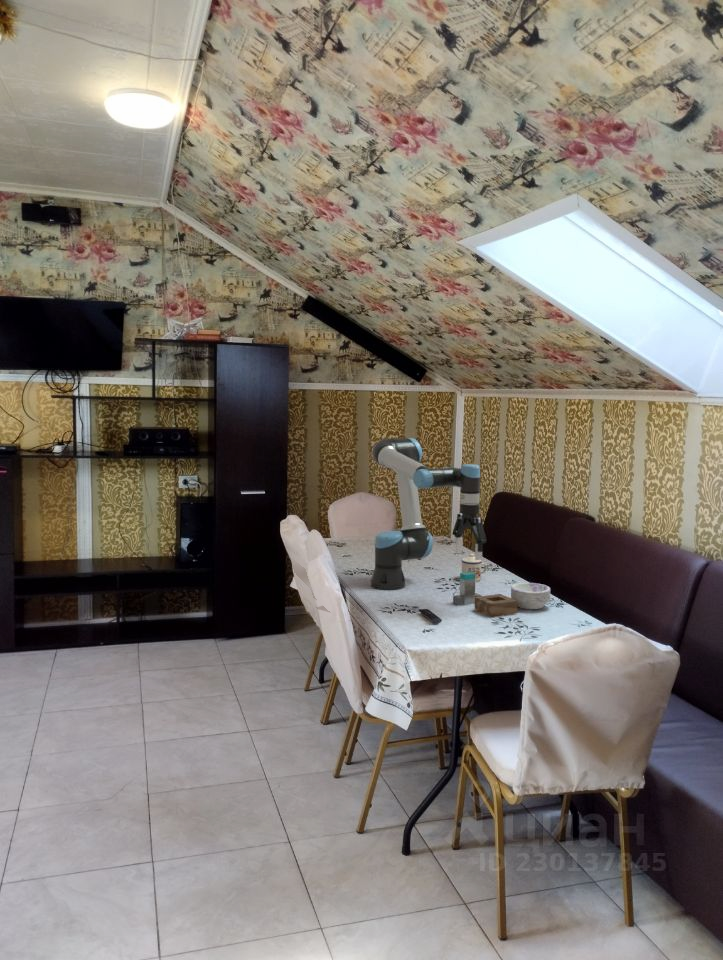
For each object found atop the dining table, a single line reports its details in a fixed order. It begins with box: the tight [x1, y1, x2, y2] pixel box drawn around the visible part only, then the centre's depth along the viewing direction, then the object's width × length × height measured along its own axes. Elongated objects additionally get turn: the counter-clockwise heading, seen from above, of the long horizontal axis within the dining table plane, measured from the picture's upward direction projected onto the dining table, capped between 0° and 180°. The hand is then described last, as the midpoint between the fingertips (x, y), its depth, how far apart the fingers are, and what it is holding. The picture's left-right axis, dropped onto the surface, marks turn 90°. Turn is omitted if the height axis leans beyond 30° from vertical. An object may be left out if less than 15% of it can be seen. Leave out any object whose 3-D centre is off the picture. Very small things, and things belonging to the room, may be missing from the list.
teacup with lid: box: [461, 553, 488, 582], centre depth 341 cm, size 12×9×12 cm
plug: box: [459, 572, 476, 606], centre depth 303 cm, size 4×5×12 cm
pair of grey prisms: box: [452, 592, 482, 606], centre depth 303 cm, size 4×11×3 cm, turn 116°
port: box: [474, 593, 518, 618], centre depth 291 cm, size 11×12×5 cm
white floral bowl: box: [510, 582, 551, 610], centre depth 298 cm, size 15×15×8 cm
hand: (468, 556), depth 301 cm, fingers open, 13 cm apart
